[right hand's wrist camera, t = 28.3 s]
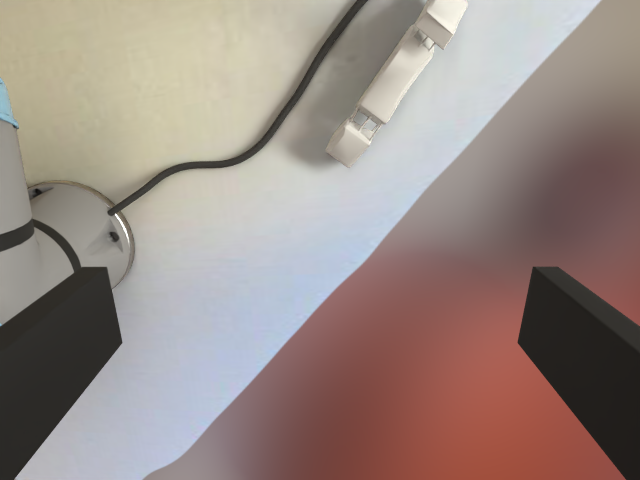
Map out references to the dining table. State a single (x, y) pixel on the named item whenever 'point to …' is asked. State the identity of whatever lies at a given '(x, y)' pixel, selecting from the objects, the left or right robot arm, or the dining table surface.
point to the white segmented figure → (397, 77)
